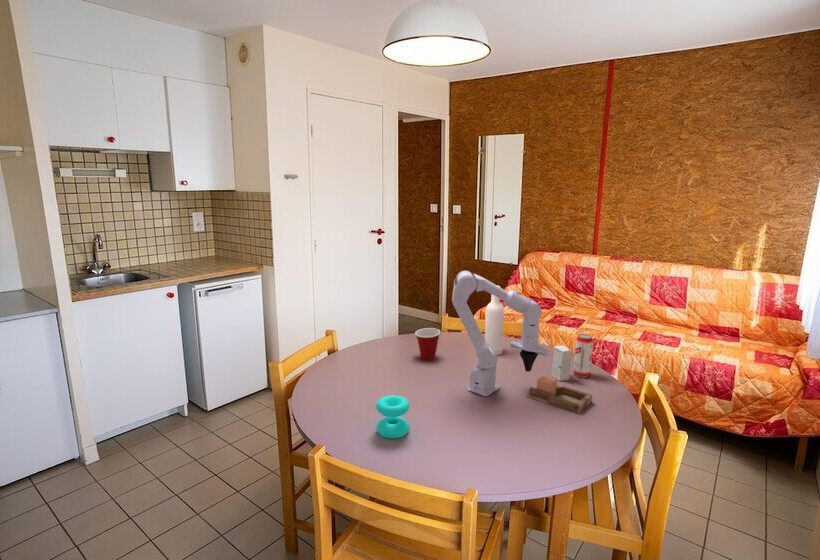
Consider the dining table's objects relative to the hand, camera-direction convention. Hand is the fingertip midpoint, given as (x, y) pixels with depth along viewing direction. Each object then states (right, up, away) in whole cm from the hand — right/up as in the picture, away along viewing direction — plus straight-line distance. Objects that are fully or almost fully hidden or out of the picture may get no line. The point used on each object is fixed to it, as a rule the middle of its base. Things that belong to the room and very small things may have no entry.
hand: (528, 370), depth 170 cm
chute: (+9, -9, -6) cm, 14 cm away
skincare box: (+15, -5, +12) cm, 20 cm away
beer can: (+24, -5, +14) cm, 29 cm away
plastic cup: (-35, -1, +31) cm, 47 cm away
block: (+5, -8, -3) cm, 10 cm away
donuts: (-48, -13, -27) cm, 57 cm away
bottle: (-6, 0, +38) cm, 39 cm away
